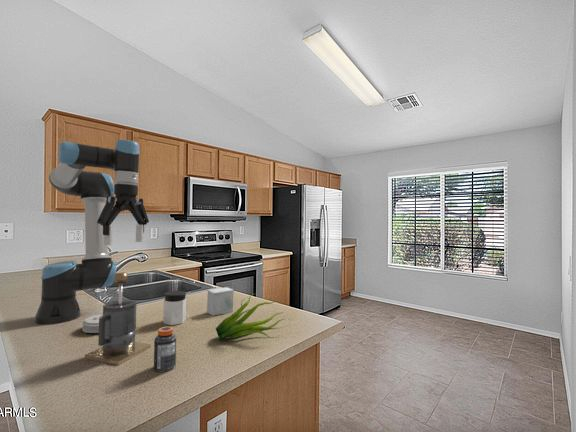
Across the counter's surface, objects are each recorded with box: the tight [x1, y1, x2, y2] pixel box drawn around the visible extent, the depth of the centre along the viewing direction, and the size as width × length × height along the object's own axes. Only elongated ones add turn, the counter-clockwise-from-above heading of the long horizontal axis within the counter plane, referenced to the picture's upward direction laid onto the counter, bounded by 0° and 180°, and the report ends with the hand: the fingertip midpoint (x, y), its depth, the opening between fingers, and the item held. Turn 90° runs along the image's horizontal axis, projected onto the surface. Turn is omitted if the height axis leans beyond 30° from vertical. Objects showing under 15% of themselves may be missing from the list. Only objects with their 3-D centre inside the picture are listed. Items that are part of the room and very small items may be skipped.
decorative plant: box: [215, 293, 292, 341], centre depth 116 cm, size 18×30×15 cm, turn 96°
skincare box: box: [206, 287, 235, 317], centre depth 140 cm, size 10×6×10 cm, turn 131°
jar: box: [162, 290, 187, 326], centre depth 126 cm, size 9×8×12 cm
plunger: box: [113, 272, 128, 305], centre depth 97 cm, size 4×4×18 cm
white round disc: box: [81, 313, 103, 334], centre depth 117 cm, size 13×13×5 cm
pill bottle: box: [153, 326, 177, 373], centre depth 88 cm, size 6×6×11 cm
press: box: [84, 299, 151, 366], centre depth 97 cm, size 13×14×16 cm
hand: (124, 243), depth 109 cm, fingers open, 13 cm apart
